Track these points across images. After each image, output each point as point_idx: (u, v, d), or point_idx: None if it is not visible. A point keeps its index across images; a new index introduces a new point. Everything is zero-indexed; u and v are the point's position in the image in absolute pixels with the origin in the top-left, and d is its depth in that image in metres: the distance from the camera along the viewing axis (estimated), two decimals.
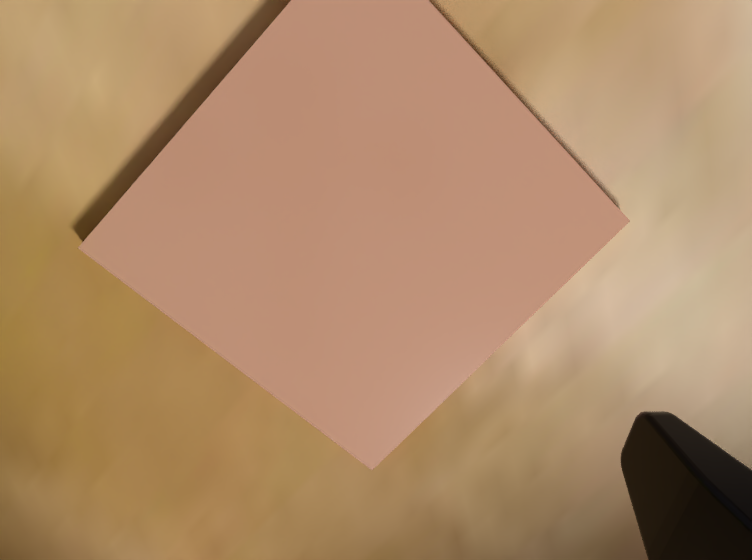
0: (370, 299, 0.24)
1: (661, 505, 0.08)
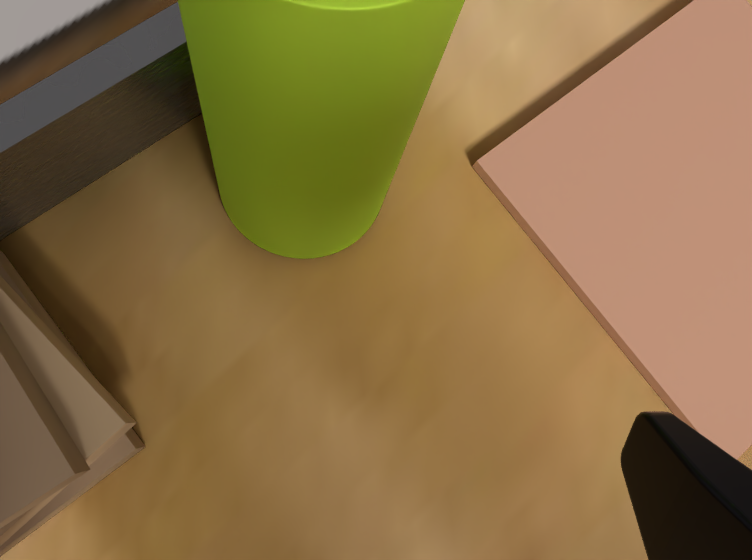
0: (729, 264, 0.24)
1: (661, 505, 0.08)
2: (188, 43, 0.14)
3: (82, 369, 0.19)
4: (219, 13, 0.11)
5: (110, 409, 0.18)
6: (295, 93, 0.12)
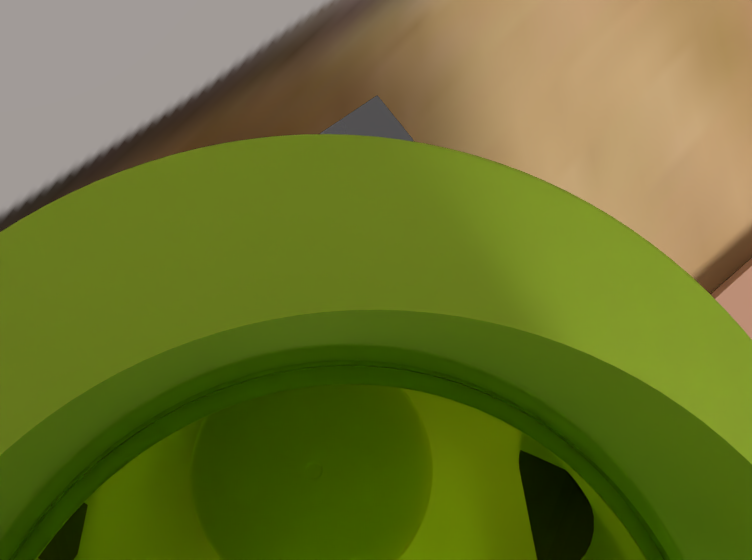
0: None
1: (547, 507, 0.08)
2: None
3: None
4: None
5: None
6: None
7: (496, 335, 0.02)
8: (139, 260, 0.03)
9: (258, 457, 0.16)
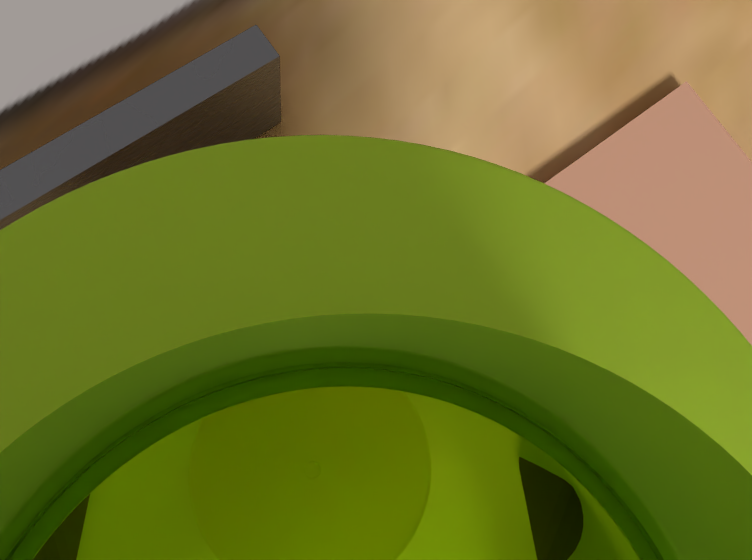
0: None
1: (547, 507, 0.08)
2: None
3: None
4: None
5: None
6: None
7: (490, 341, 0.02)
8: (134, 261, 0.03)
9: (257, 457, 0.16)
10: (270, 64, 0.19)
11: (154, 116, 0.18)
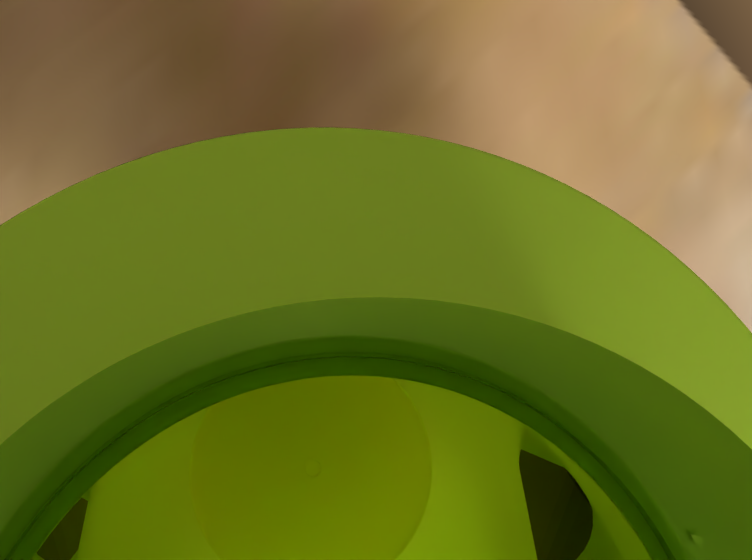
0: None
1: (547, 508, 0.08)
2: None
3: None
4: None
5: None
6: None
7: (498, 326, 0.02)
8: (140, 252, 0.03)
9: (258, 455, 0.16)
10: None
11: None
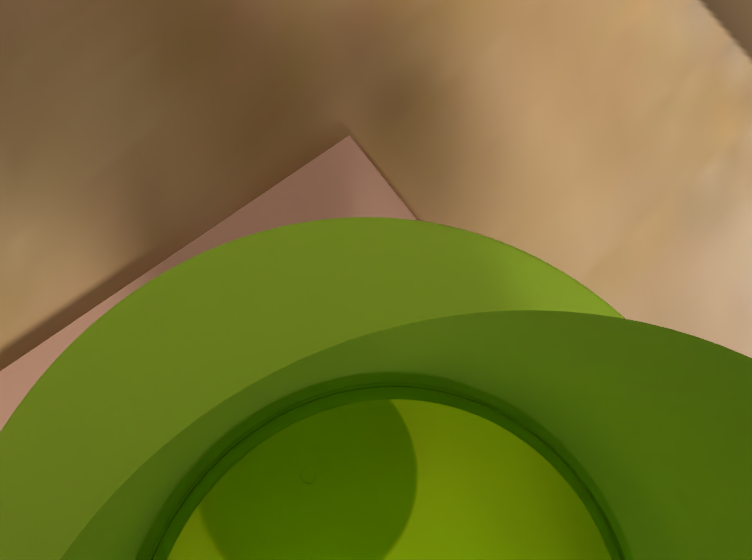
0: None
1: None
2: None
3: None
4: None
5: None
6: None
7: (495, 370, 0.04)
8: (242, 310, 0.05)
9: (258, 463, 0.17)
10: None
11: None
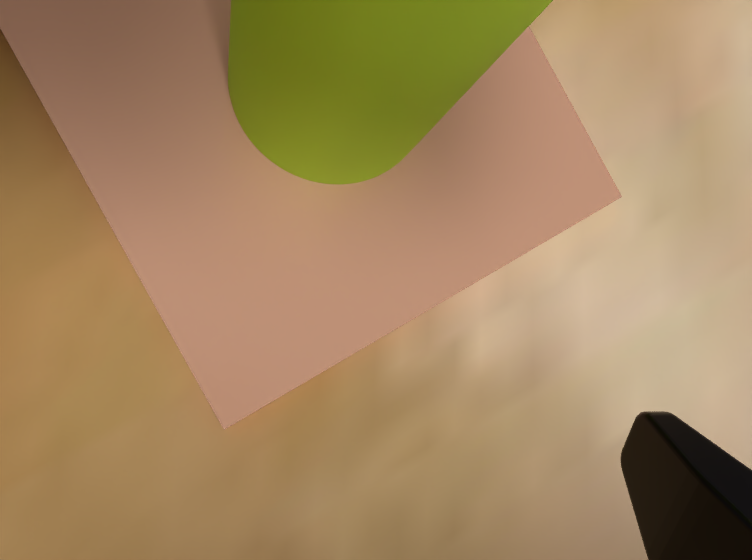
0: None
1: (661, 505, 0.08)
2: None
3: None
4: None
5: None
6: None
7: None
8: None
9: None
10: None
11: None
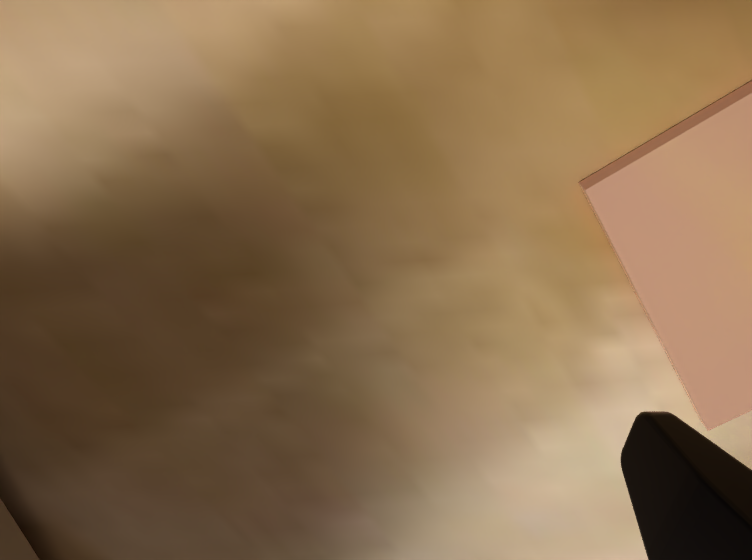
0: None
1: (661, 505, 0.08)
2: None
3: None
4: None
5: None
6: None
7: None
8: None
9: None
10: None
11: None
